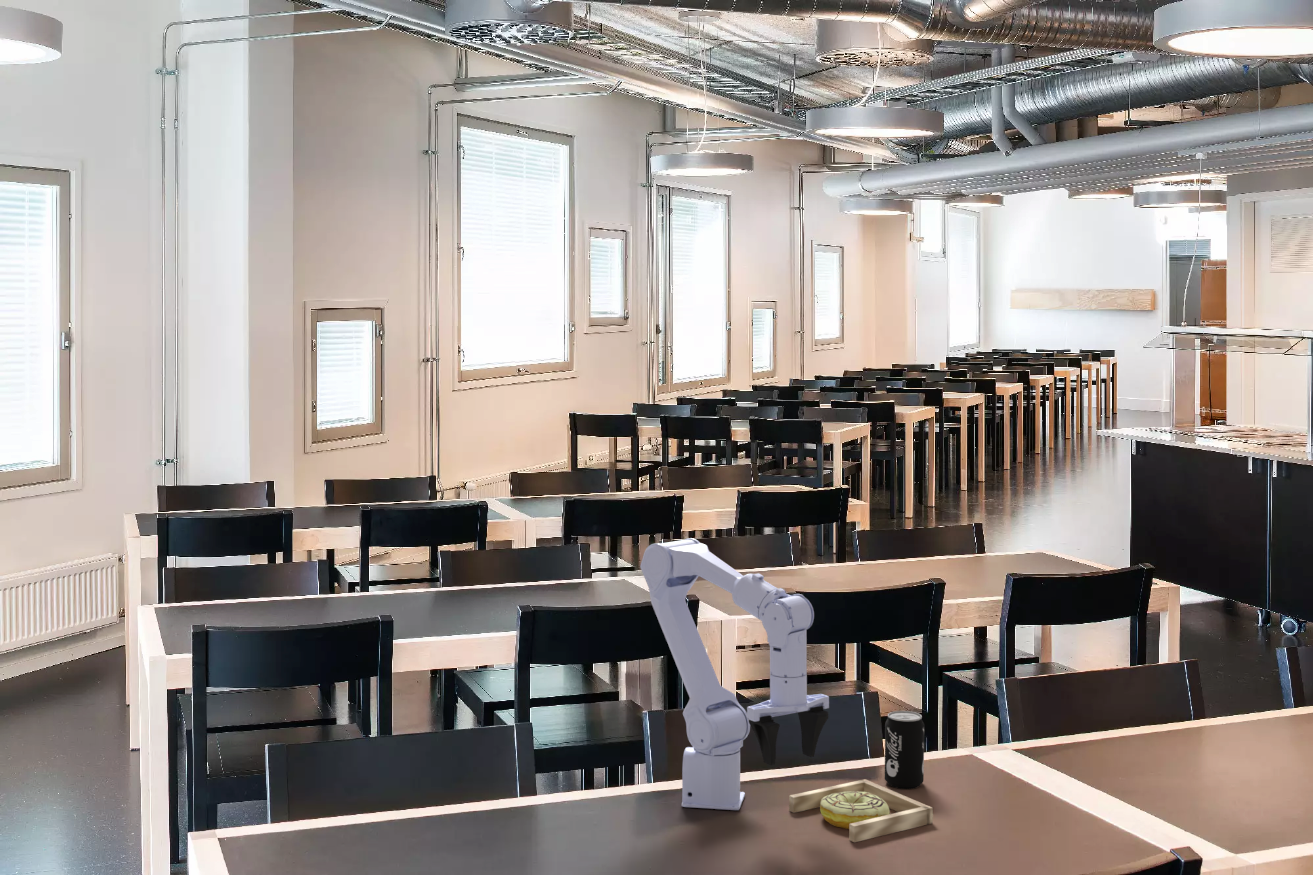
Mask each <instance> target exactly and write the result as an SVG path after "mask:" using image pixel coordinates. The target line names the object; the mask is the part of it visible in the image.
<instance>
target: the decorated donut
mask: <svg viewBox="0 0 1313 875" xmlns="http://www.w3.org/2000/svg"><path fill="white" fill-rule="evenodd" d="M819 810H820V814H821V816H822V817H823V819H824V820H825V822H827V823H828V824H829V825H832V826H834V827H837V828H840V829H845V830H849V824H851V823H855V822H860V821H864V820H868V819H872V818H877V817H881V816H885V815H889V814H891V812H890V808H889V807H888V805H887V803H886V802H885V801H884V800H883V799H881V798H880V797H878V796H876V795H874V794H871V793H868V792H859V791H855V792H850V791H845V792H839V793H834V794H830V795H827V796H825V797H823V798H822V799H821V804H820V807H819Z"/></svg>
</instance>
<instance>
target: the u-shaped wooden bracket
mask: <svg viewBox="0 0 1313 875" xmlns="http://www.w3.org/2000/svg"><path fill="white" fill-rule="evenodd" d="M845 791H850V792H855V791H859V792H868V793H871V794H874V795H876V796H878V797H880V798H881V799H883V800H884V801H885V802H886V803H887V805H888V807H889V810H890V809H891V810H892V811H895V813H890V814H889V815H885V816H881V817H877V818H872V819H868V820H864V821H860V822H855V823H851V824H849V829H848V830H849V831H848V832H849V833H848V838H849V839H848V840H849V841H850V842H853V843H857V842H861V841H866V840H870V839H873V838H878V837H881V836H886V835H890V834H891V835H892V834H895V833H898V832H902V831H906V830H910V829H915V828H918V827H923V826H926V825H931V824H933V813H934V812H933V809H934V808H933V807H932V806H930V805H927V804H925V803H922V802H920V801H918V800H915V799H913V798H910V797H909V796H905V795H904V794H901V793H899V792H897V791H895V790H891V789H890V788H887V787H884V786H882V785H880V784H877V783H875V782H873V781H871V780H868V779H866V778H865V779H859V780H855V781H851V782H845V783H839V784H837V785H832V786H826V787H822V788H818V789H817V788H816V789H814V790H813V789H812V790H809V791H804V792H799V793H795V794H790V795H789V796H788V798H789V799H788V812H791V813H799V812H804V811H808V810H812V809H817V808H820V804H821V799H822V798H823V797H825V796H827V795H830V794H834V793H839V792H845Z"/></svg>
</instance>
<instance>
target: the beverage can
mask: <svg viewBox="0 0 1313 875" xmlns="http://www.w3.org/2000/svg"><path fill="white" fill-rule="evenodd" d="M922 718H923V716H922V714H920V713H919V712H916V711H911V710H910V711H909V710H893V711H890V712H889V713H887V719H886V721H885V722H884V723H885V724H884V727H885V728H884V780H885V782H886V783H887V785H888V786H890V787H893V788H895V789H900V790H912V789H917V788H919V787H920V786H921V785H922V784H923V783H924V775H925V774H924V773H925V772H924V771H925V770H924V768H925V766H924V764H925V763H924V762H925V761H924V759H925V723H924V721H923V720H922Z"/></svg>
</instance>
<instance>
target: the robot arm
mask: <svg viewBox="0 0 1313 875" xmlns="http://www.w3.org/2000/svg"><path fill="white" fill-rule="evenodd" d="M639 568H640V570H641V573H642V575H643V578H644V580H645V582H646V584H647V587H648V591H649V599H650V603H651V606H652V608H653V611H654V614H655V615H656V617H657V620H658V623H659V626H660V628H661V630H662V633H663V635H664V638H665V641H666V642H667V644H668V647H669V650H670V652H671V655H672V658H673V660H674V662H675V665H676V667H677V670H678V673H679V675H680V677H681V679H682V680H681V681H682V683H683V684H684V687H685V690H686V692H687V695H688V697H689V699H688V702H687V704H686V705H685V708H684V709H683V712H682V715H683V718H684V721H685V726H686V735H687V740H688V741H689V743H690V745H691V746H687V747H685V749H684V751H683V756H682V771H681V772H682V774H681V776H682V782H681V784H682V786H681V787H682V789H681V790H682V794H681V797H682V800H681V801H682V802H681V807H684V808H693V809H694V808H698V809H711V810H713V809H715V810H724V811H725V810H727V811H729V810H730V811H739V810H740V809H741V807H742V804H743V801H744V799H745V795H746V793H745V792H744V791H741V748H742V747H744V740H746V738H748V735H749V734H750V731H751V729H752V730H753V732H754V734H755V736H756V739H757V742H758V745H759V748H760V751H761V755H762V759H763V763H765V764H766V765H770V766H774V765H775V764H776V760H777V756H776V755H777V740H778V739H777V738H778V735H779V734H778V733H779V729H780V726H781V725H780V724H779V723H777V722H775V721H774V719H772V718H774V717H779V716H785V715H786V716H787V715H790V714H796V713H797V716H798V720H799V724H800V725H799V726H800V731H801V750H802V754H803V756H806V757H809V758H812V757H813V758H814V757H815V753H816V749H817V745H818V741H819V738H820V735H821V732H822V730H823V728H824V725H825V724H826V722H827V721H828V719H829V711H826V709H830V696H829V695H826V694H823V693H818V694H808V692H807V691H808V687H807V686H808V676H807V673H808V670H807V669H808V668H807V666H808V665H807V664H808V663H807V660H808V659H807V658H808V657H807V656H808V653H807V652H808V651H807V650H808V648H807V640H808V639H807V630H809V629H810V628H811V627H812V626H813V623H814V619H815V611H814V607H813V605H812V603H811V602H810V600H809V599H808V598H807V597H805V596H804V594H802V593H801V594H800V593H794V594H788V593H786V590H785V589H783V588H782V587H779V588H778V587H776V586H775V585H773V584H771V583H770V582H768V581H766V580H765V579H764V577H765V576H764V575H763V574H761V573H759V572H758V573H747V574H744V575H743V574H741V573H740V572H739V571H737V570H736V569H735V568H733V567H732V566H730V565H729V564H728V563H726V562H725V561H724V560H722V559H721V558H719V557H718V556H716V555H715V554H714V553H712V552H711V551H710V549H709V547H708V545H707V544H704V543H702V542H700V541H699V540H697V539H695V538H692V537H690V538H689V537H687V538H685V539H681V540H674V541H669V542H660V543H658V542H656V543H651V544H650V545H648V546H647V547H646V548H645V550H644V552H643V556H642V559H641V562H640V567H639ZM699 577H700V578H702V579H703V580H706V581H708V582H709V583H711V584H713V585H715V586H717V587H718V588H721V589H723V590H724V591H726V592H728V593H730V594H731V597H732V601H733V603H734V605H735V606H737V607H739V608H741V609H742V610H743V611H744V612H747V613H748V614H750V615H752V616H753V617H754V618H756V619H758V620H759V621H761V623H762V627H763V629H764V630H765V632H766V635H767V643H768V646H769V689H770V692H769V699H768V700H765V701H762V702H760V703H757V704H753V705H750V706H746V709H745V708H744V707H743V706H742V705H741V704H740V703H739V701H738V699H737V696H736V694H735V693H733V692H732V691H730V690H728V689H726V688H725V687H723V686H722V685H721V683H720V681H719V679H718V676H717V674H716V672H715V669H714V667H713V665H712V662H711V660H710V657H709V655H708V652H707V650H706V647H705V646H704V643H703V640H702V638H701V635H700V632H699V630H698V628H697V626H696V624H695V621H694V619H693V616H692V613H691V612H690V609H689V606H688V604H687V602H686V598H687V595H688V592H689V591H690V590H691V589H692V587H693V586H694V584H695V583H696V581H697V579H698V578H699Z"/></svg>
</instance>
